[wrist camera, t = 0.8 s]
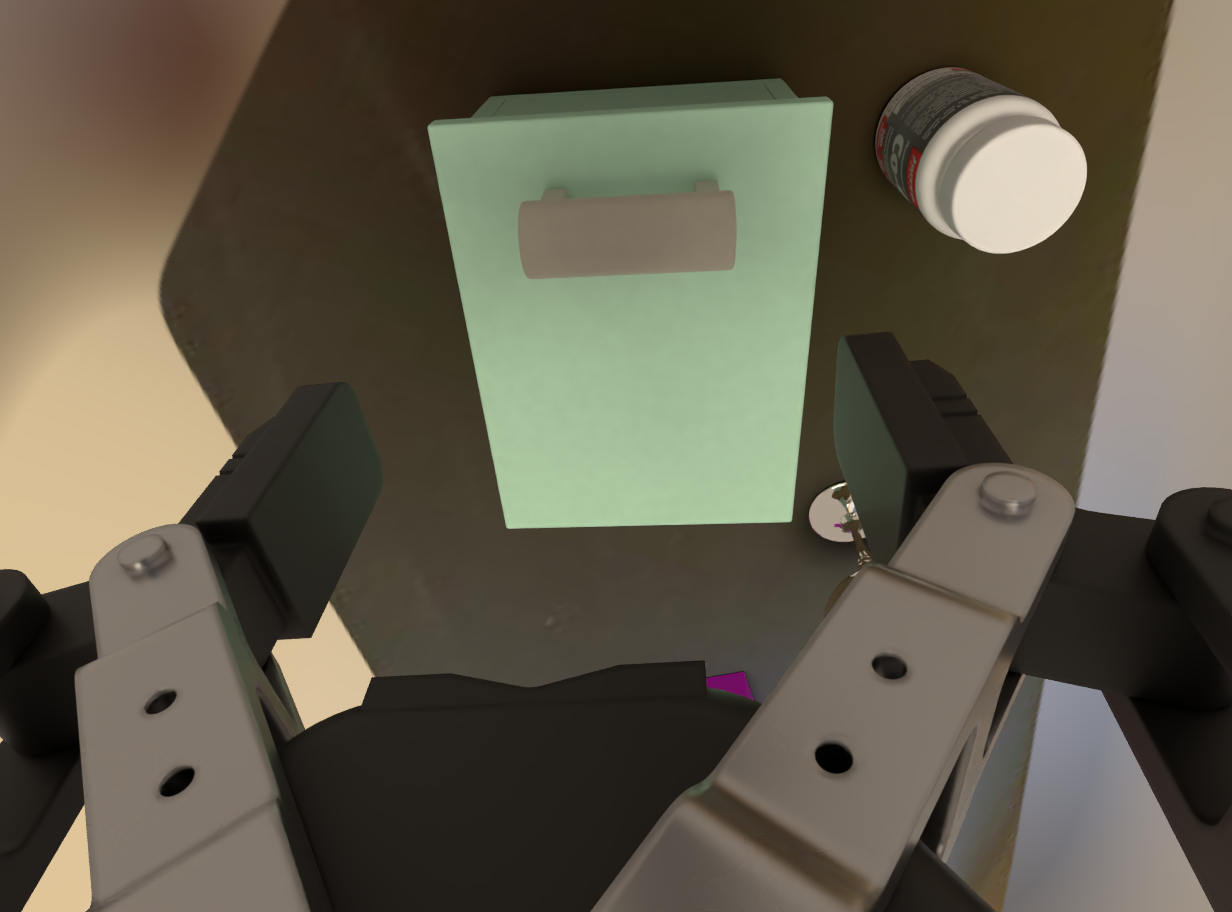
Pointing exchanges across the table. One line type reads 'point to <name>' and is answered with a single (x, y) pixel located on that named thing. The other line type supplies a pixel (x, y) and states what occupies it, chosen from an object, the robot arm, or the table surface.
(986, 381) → the table surface
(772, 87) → the bin
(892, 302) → the table surface
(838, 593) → the wineglass
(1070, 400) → the table surface
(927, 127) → the pill bottle
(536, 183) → the bin lid
